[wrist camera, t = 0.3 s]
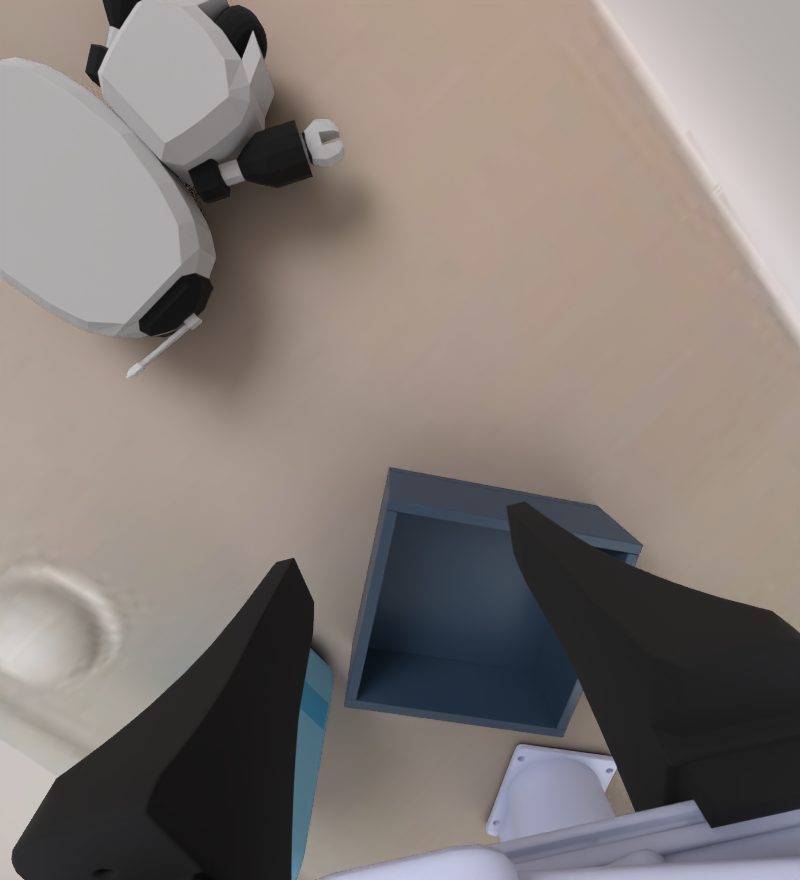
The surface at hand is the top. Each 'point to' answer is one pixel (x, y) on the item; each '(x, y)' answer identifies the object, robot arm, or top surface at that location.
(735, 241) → the top surface
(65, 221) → the robot toy
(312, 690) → the blue carton
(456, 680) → the tote
